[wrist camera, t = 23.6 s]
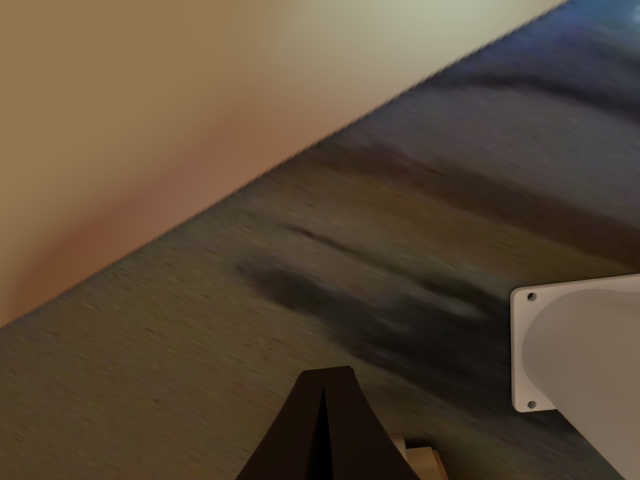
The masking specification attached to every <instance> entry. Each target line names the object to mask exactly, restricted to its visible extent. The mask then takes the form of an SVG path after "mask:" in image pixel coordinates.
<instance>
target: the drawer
mask: <svg viewBox="0 0 640 480" xmlns="http://www.w3.org/2000/svg"><path fill="white" fill-rule="evenodd" d="M389 437H390V438H391V440H392V441H393V443H394V444H395V446H396V447H397V448H398V450H399V451H400V453H401V454H402V455H403V457H404V458H405V460H406V461H407V462H408V464H409V465H410V466H411V468H412V469H413V470H414V472H415V473H416V474H417V475H418V477H419V478H420V479H421V480H443V478H442V476H441V473H440V470H439V468H438V465H437V462H436V460H435V457H434V454H433V452H432V449H431V447H423V448H412V449H406V446H405V442H404V438H403V436H402V434H392V435H389Z"/></svg>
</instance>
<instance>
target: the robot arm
mask: <svg viewBox="0 0 640 480" xmlns="http://www.w3.org/2000/svg"><path fill="white" fill-rule="evenodd" d="M530 293H532V297H531V298H529V299H527V296H528V295H529V294H530ZM510 309H511V378H512V405H513V406H514V408H515V409H516V410H517V411H519V412H530V411H540V410H551V409H558V410H559V411H560V412H561V414H562V415H563V416H564V417H565V418H566V419H567V420H568V421H569V422H570V423H571V424H572V425H573V426H574V427H575V428H576V429H577V430H578V431H579V432H580V433H581V434H582V435H583V436H584V437H585V438H586V439H587V440H588V442H589V443H590V444H591V445H592V446H593V447H594V448H595V449H596V450H597V451H598V452H599V453H600V454H601V455H602V456H603V457H604V458H605V459H606V460H607V461H608V462H609V463H610V464H611V465H612V466H613V467H614V468H615V469H616V471H617V472H618V473H619V474H620V475H621V476H622V477H623V478H624V479H625V480H640V274H631V275H623V276H614V277H606V278H597V279H589V280H580V281H572V282H563V283H554V284H546V285H537V286H529V287H520V288H516V289H515V290H513V291H512V293H511V296H510ZM531 401H532V402H531ZM529 402H531V403H529ZM528 403H529V404H528ZM235 480H421V479H420V478H419V477H418V475H417V474H416V473H415V472H414V470H413V469H412V468H411V466H410V465H409V464H408V462H407V461H406V460H405V458H404V457H403V455H402V454H401V453H400V451H399V450H398V448H397V447H396V446H395V444H394V443H393V441H392V440H391V438H390V437H389V435H388V434H387V433H386V431H385V430H384V428H383V426H382V425H381V423H380V422H379V420H378V418H377V417H376V415H375V413H374V412H373V410H372V409H371V407H370V405H369V403H368V402H367V400H366V398H365V396H364V394H363V392H362V390H361V388H360V386H359V384H358V381H357V379H356V376H355V373H354V369H353V368H351V367H350V366H342V367H333V368H324V369H315V370H306V371H302V372H301V374H300V375H299V377H298V379H297V381H296V383H295V385H294V387H293V389H292V390H291V392H290V394H289V396H288V398H287V400H286V401H285V403H284V405H283V407H282V409H281V410H280V412H279V414H278V415H277V417H276V419H275V420H274V422H273V424H272V425H271V427H270V428H269V430H268V432H267V433H266V435H265V437H264V438H263V440H262V441H261V443H260V444H259V446H258V447H257V449H256V450H255V451H254V453H253V454H252V456H251V457H250V459H249V460H248V462H247V463H246V465H245V466H244V468H243V469H242V471H241V472H240V473H239V475H238V476H237V477H236V479H235Z"/></svg>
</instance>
